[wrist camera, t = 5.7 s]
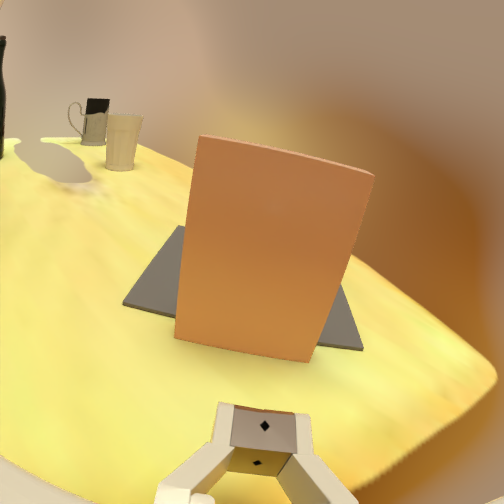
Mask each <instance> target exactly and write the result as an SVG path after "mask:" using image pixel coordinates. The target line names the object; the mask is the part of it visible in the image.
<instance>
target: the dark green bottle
mask: <svg viewBox="0 0 504 504" xmlns="http://www.w3.org/2000/svg"><path fill="white" fill-rule="evenodd" d="M5 39H6V36H0V158H1V157H2V156H3V153H4V126H5V109H6V90H5V84H4V79H3V72H2V63H3V56H4V50H5V47H6V40H5Z"/></svg>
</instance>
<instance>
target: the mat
mask: <svg viewBox="0 0 504 504" xmlns="http://www.w3.org/2000/svg"><path fill="white" fill-rule="evenodd" d="M184 233H185V227H184V226H179V225H178V227H177V228H176V229H175V231H174V232H173V233H172V235H171V236H170V237H169V239H168V240H167V241H166V242H165V244H164V245H163V246H162V248H161V249H160V250H159V252H158V253H157V255H156V256H155V257H154V259H153V260H152V261H151V263H150V264H149V265H148V267H147V268H146V269H145V271H144V272H143V274H142V275H141V276H140V278H139V279H138V281H137V282H136V283H135V285H134V286H133V288H132V289H131V290H130V292H129V293H128V295H127V296H126V298H125V299H124V300H123V305H126V306H129V307H133V308H137V309H141V310H145V311H149V312H153V313H157V314H161V315H165V316H169V317H174V318H176V309H177V298H178V287H179V277H180V267H181V258H182V250H183V241H184ZM316 345H323V346H330V347H337V348H345V349H353V350H361V351H363V349H364V347H363V344H362V341H361V338H360V335H359V333H358V330H357V327H356V324H355V321H354V318H353V316H352V313H351V310H350V307H349V305H348V302H347V299H346V296H345V294H344V291H343V288H342V286H341V284H340V286H339V289H338V292H337V294H336V297H335V300H334V302H333V305H332V307H331V310H330V312H329V315H328V318H327V320H326V323H325V325H324V328H323V330H322V332H321V335H320V337H319V340H318V342H317V344H316Z"/></svg>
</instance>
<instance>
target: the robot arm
mask: <svg viewBox="0 0 504 504" xmlns="http://www.w3.org/2000/svg"><path fill="white" fill-rule="evenodd" d="M3 2H4V0H0V9H1V7H2V4H3ZM226 471H230V472H238V473H247V474H256V475H264V476H273V477H276V479H277V480H278V482H279V483H280V485H281V487H282V488H283V490H284V492H285V493H286V495H287V496H288V498H289V500H290V501H291V503H292V504H358V501H357V500H356V498H355V497H354V496H353V495H352V494H351V493H350V492H349V491H348V489H347V488H346V487H345V486H344V485H343V484H342V483H341V481H340V480H339V479H338V478H337V477H336V476H335V474H334V473H333V472H332V471H331V470H330V469H329V467H328V466H327V465H326V464H325V463H324V461H323V460H322V459H321V458H320V457H319V455H314V451H313V440H312V430H311V420H310V416H309V414H300V413H293V412H283V411H274V410H266V409H264V410H262V409H256V408H250V407H245V406H239V405H234V404H229V403H224V402H218V406H217V411H216V415H215V420H214V424H213V429H212V434H211V440H210V442H207V443H206V444H204V445H203V446H202V447H201V448H200V449H199V450H198V451H197V452H195V453H194V454H193V455H192V456H191V457H190V458H189V459H187V460H186V461H185V462H184V463H183V464H182V465H180V466H179V467H178V468H177V469H176V470H174V471H173V472H172V473H171V474H170V475H168V476H167V477H166V478H165V479H164V480H162V481H161V482H160V483H159V485H158V489H157V493H156V497H155V500H154V504H215V499H214V498H213V497H212V496H211V495H206V493H207V492H208V491H209V490H210V489H211V488H212V487H213V486H214V485H215V484H216V483H217V482H218V481H219V479H220V478H221V477H222V476H223V475H224V474H225V473H226ZM0 504H98V503H95V502H93V501H90V500H88V499H85V498H83V497H80V496H78V495H76V494H73V493H71V492H69V491H66V490H64V489H62V488H60V487H58V486H56V485H54V484H52V483H50V482H47V481H46V480H44V479H42V478H40V477H38V476H36V475H34V474H32V473H30V472H28V471H27V470H25V469H23V468H21V467H20V466H18V465H16V464H14V463H13V462H11V461H9V460H8V459H6V458H5V457H3V456H1V455H0ZM485 504H504V496H502V497H500V498H497V499H495V500H492V501H490V502H488V503H485Z"/></svg>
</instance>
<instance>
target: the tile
mask: <svg viewBox="0 0 504 504" xmlns="http://www.w3.org/2000/svg"><path fill="white" fill-rule="evenodd" d="M374 180H375V176H374V175H373V174H371V173H370V172H368V171H365V170H362V169H358V168H355V167H351V166H348V165H344V164H341V163H336V162H333V161H329V160H325V159H322V158H318V157H314V156H310V155H306V154H301V153H297V152H293V151H289V150H284V149H280V148H275V147H271V146H266V145H261V144H256V143H251V142H246V141H241V140H236V139H230V138H224V137H218V136H213V135H206V134H204V135H200V136H199V139H198V145H197V151H196V157H195V163H194V169H193V176H192V182H191V189H190V196H189V203H188V210H187V217H186V225H185V233H184V241H183V250H182V258H181V267H180V277H179V287H178V298H177V309H176V321H175V334H174V338H177V339H181V340H185V341H189V342H194V343H198V344H203V345H208V346H213V347H217V348H222V349H227V350H232V351H238V352H243V353H248V354H254V355H260V356H266V357H272V358H278V359H284V360H291V361H298V362H305V363H309V361H310V359H311V356H312V354H313V352H314V349H315V347H316V344H317V342H318V340H319V337H320V335H321V332H322V330H323V328H324V325H325V323H326V320H327V318H328V315H329V312H330V310H331V307H332V305H333V302H334V300H335V297H336V294H337V292H338V289H339V286H340V284H341V281H342V278H343V275H344V273H345V270H346V267H347V264H348V261H349V258H350V256H351V253H352V250H353V247H354V244H355V241H356V238H357V235H358V232H359V229H360V225H361V223H362V219H363V216H364V213H365V210H366V207H367V203H368V200H369V196H370V193H371V190H372V187H373V183H374Z"/></svg>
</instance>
